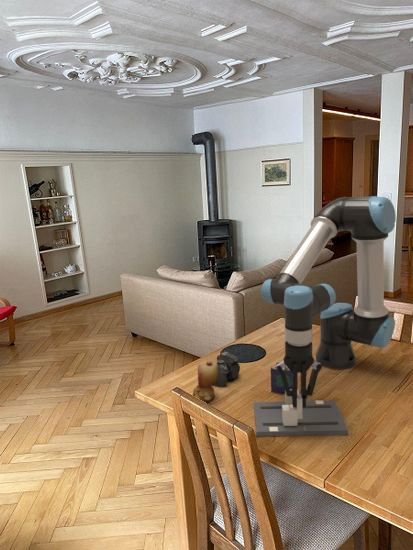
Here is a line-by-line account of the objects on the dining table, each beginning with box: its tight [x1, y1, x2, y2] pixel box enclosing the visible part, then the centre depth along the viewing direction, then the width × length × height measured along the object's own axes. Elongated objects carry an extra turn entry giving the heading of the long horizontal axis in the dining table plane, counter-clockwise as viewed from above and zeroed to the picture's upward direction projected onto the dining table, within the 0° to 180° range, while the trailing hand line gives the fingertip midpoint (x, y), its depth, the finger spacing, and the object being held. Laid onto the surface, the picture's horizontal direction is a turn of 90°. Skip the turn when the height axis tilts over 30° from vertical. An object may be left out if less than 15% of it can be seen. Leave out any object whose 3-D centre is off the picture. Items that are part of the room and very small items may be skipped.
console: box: [253, 400, 349, 437], centre depth 125 cm, size 26×16×2 cm, turn 87°
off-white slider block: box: [284, 388, 300, 405], centre depth 129 cm, size 4×3×5 cm
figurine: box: [192, 359, 218, 403], centre depth 140 cm, size 10×8×15 cm
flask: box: [270, 365, 299, 395], centre depth 141 cm, size 9×3×11 cm, turn 74°
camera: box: [213, 351, 241, 388], centre depth 153 cm, size 13×10×10 cm
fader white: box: [282, 405, 297, 426], centre depth 120 cm, size 4×3×5 cm
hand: (299, 416), depth 120 cm, fingers closed
